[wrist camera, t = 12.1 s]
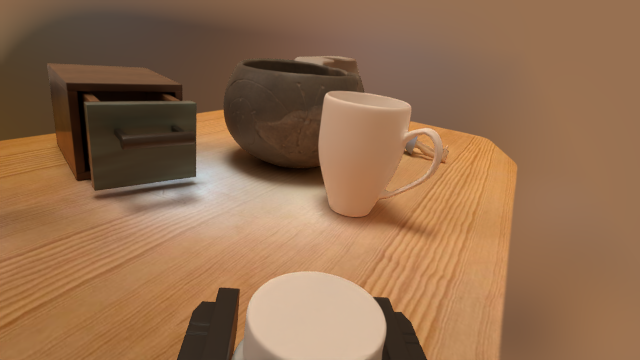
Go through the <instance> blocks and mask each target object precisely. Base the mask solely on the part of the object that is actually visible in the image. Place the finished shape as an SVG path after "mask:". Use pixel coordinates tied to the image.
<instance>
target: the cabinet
mask: <svg viewBox="0 0 640 360" xmlns="http://www.w3.org/2000/svg"><path fill="white" fill-rule="evenodd" d="M47 67H48V75H49V82H50V89H51V98H52V106H53V113H54V121H55V129H56V137H57V144H58V146H59V148H60V150H61V151H62V153H63V155H64V157H65V159H66V161H67V162H68V164H69V166H70V168H71V170H72V172H73V174H74V175H75V177H76V179H77V180H85V179H91V170H90V165H89V164H88V162H87V160H86V159H85V157H84V153H83V144H82V134H81V124H80V115H79V105H78V96H77V91H100V92H165V93H167V94H169V95H171V96H173V97H174V98H176V99H178V100H180V101H182V85H181V84H179V83H177V82H175V81H172V80H170V79H168V78H166V77H164V76H162V75H160V74H157V73H155V72H153V71H151V70H149V69H147V68H136V67H114V66H93V65H70V64H49V63H48V64H47Z"/></svg>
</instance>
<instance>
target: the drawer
mask: <svg viewBox="0 0 640 360" xmlns="http://www.w3.org/2000/svg"><path fill="white" fill-rule="evenodd" d="M77 96H78V105H79V115H80V124H81V134H82V144H83V153H84V157H85V159H86V160H87V162H88V164H89V165H90V170H91V180H92V187H93V188H94V190H95V191H96V190H103V189H111V188H118V187H125V186H132V185H139V184H147V183H154V182H161V181H168V180H175V179H183V178H190V177H196V103H194V102H193V101H180V100H178V99H176V98H174V97H173V96H171V95H169V94H167V93H165V92H100V91H77Z"/></svg>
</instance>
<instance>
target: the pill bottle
mask: <svg viewBox="0 0 640 360" xmlns="http://www.w3.org/2000/svg"><path fill="white" fill-rule="evenodd" d="M385 337H386V321H385V317H384V314H383V312H382V309H381V308H380V306H379V304H378V303H377V302H376V300H375V299H374V298H373V297H372V296H371V295H370V294H369V293H368V292H366V291H365V290H364V289H363V288H361V287H360V286H358V285H356V284H355V283H353V282H351V281H349V280H346V279H344V278H342V277H339V276H336V275H332V274H327V273H322V272H309V271H303V272H294V273H289V274H284V275H281V276H278V277H276V278H273V279H271V280H269V281H268V282H266V283H265V284H264V285H262V286H261V287H260V288H259V289H258V290H257V291H256V292H255V293H254V294H253V296H252V298H251V300H250V302H249V305H248V309H247V315H246V323H245V333H244V338H243V340H242V341H241V342H240V343H239V345H238V347H237V348H236V350H235V352H234V354H233V356H232V359H231V360H382V351H383V347H384V342H385Z"/></svg>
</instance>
